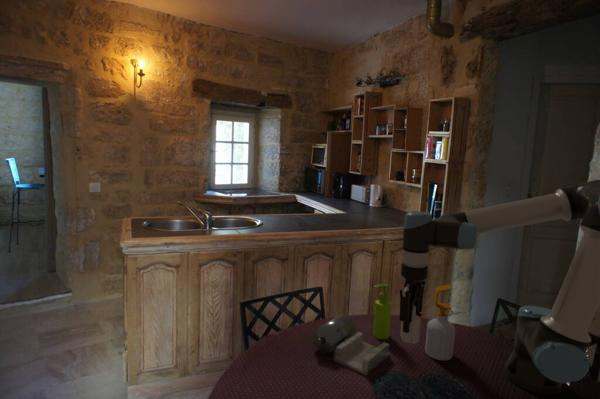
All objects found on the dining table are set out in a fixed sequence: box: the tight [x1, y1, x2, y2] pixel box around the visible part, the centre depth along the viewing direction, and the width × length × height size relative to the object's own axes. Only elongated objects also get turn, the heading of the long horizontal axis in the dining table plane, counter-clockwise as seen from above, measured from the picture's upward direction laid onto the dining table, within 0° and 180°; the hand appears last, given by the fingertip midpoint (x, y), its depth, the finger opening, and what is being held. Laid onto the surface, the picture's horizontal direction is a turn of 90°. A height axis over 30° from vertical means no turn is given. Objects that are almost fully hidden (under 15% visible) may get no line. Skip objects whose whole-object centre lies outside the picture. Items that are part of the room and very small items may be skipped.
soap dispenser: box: [372, 283, 393, 340], centre depth 138 cm, size 6×7×20 cm
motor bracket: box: [311, 313, 391, 377], centre depth 125 cm, size 22×18×9 cm
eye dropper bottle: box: [399, 306, 421, 345], centre depth 112 cm, size 4×6×12 cm
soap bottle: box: [424, 284, 456, 361], centre depth 127 cm, size 9×9×25 cm
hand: (409, 338), depth 112 cm, fingers closed on eye dropper bottle, 4 cm apart
